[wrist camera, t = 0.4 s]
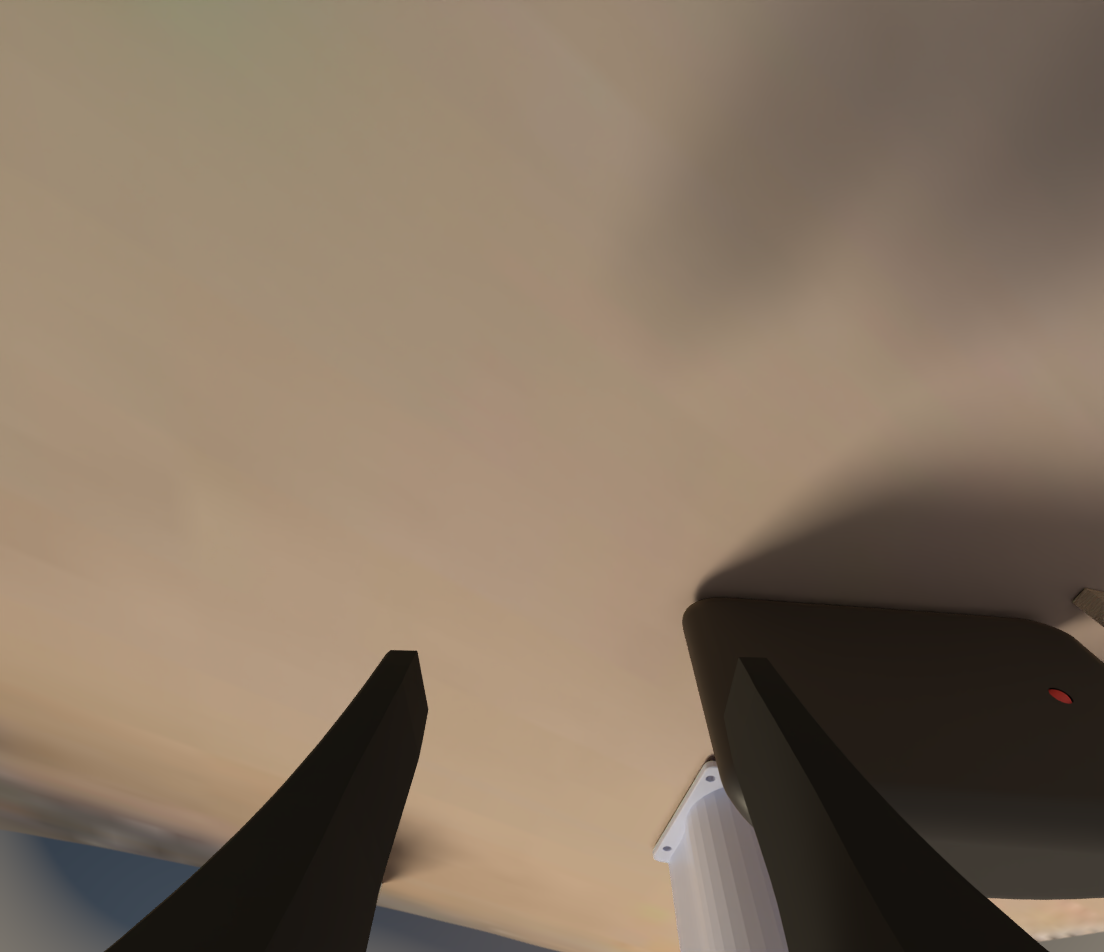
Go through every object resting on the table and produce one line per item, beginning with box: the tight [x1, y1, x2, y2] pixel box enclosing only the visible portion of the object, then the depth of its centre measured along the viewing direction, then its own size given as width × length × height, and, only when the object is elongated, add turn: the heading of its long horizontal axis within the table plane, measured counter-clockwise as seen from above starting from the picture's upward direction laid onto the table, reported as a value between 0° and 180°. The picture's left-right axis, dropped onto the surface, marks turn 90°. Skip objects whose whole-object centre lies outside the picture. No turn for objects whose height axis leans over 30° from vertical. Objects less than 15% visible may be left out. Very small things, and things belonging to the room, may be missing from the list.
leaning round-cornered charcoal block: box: [682, 597, 1104, 900], centre depth 19 cm, size 16×5×9 cm, turn 87°
